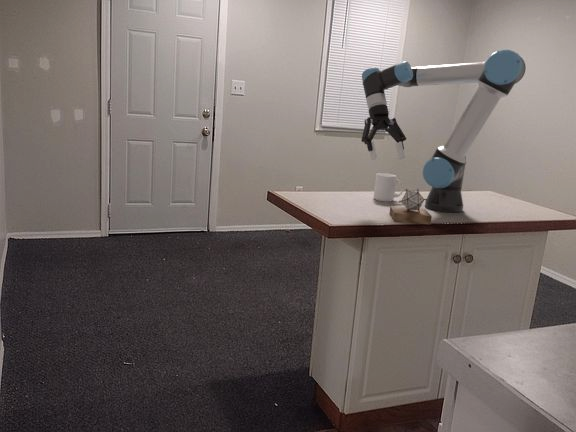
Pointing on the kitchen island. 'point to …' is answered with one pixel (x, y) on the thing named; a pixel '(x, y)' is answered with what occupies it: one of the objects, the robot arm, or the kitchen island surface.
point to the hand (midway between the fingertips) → (388, 158)
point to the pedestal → (410, 215)
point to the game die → (412, 200)
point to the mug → (386, 187)
